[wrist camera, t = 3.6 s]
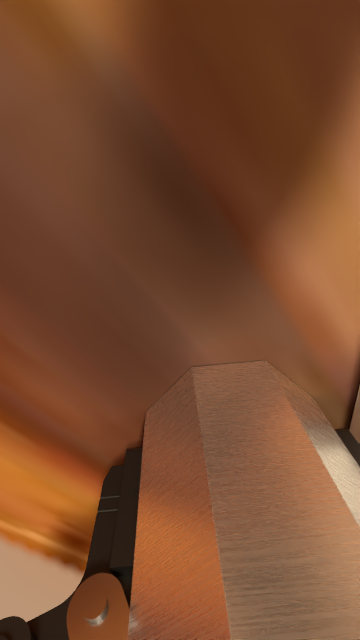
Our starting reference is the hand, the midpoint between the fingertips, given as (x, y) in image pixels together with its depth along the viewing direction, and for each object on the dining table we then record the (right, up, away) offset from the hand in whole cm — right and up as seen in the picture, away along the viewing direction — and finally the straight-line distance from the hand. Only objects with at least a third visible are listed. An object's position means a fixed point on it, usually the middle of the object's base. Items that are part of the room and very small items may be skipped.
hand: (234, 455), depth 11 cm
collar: (0, 0, +1) cm, 1 cm away
